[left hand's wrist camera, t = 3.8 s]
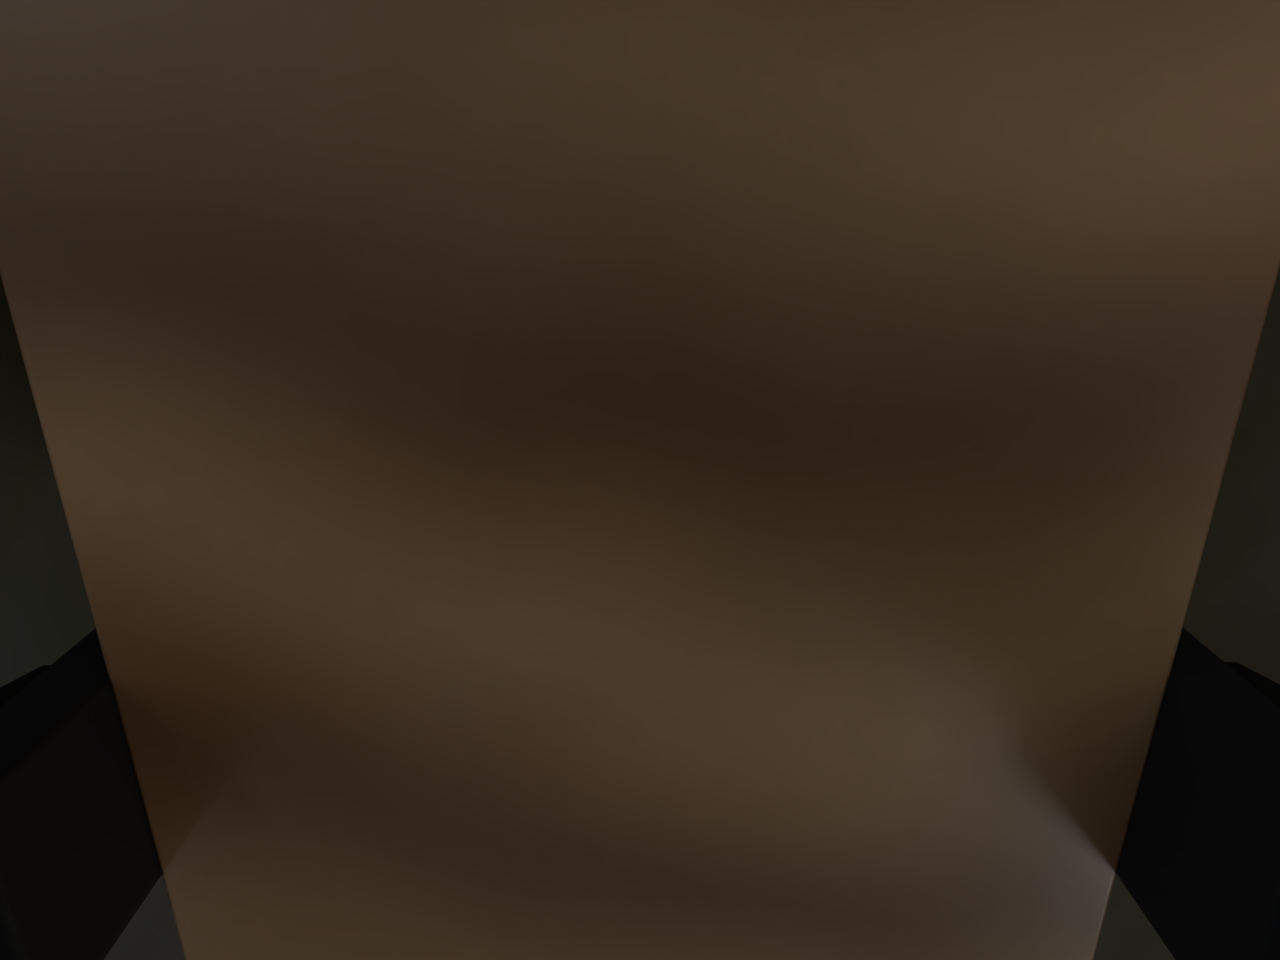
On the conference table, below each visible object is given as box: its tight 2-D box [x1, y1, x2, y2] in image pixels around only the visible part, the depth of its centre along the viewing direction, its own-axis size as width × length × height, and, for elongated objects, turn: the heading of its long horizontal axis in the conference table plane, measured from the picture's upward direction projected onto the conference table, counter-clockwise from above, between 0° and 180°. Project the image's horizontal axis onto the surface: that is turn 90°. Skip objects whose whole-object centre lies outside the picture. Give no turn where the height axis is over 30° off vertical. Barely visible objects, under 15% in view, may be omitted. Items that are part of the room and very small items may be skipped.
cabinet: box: [0, 0, 1280, 960], centre depth 11 cm, size 18×11×9 cm, turn 0°
